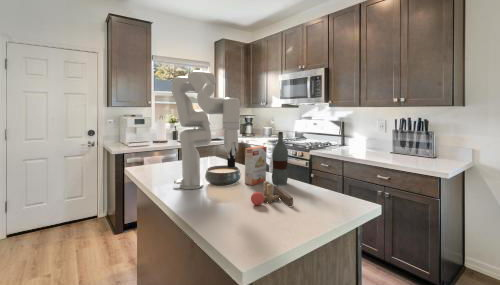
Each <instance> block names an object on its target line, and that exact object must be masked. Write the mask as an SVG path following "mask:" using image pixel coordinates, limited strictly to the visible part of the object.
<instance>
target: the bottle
mask: <svg viewBox="0 0 500 285" xmlns="http://www.w3.org/2000/svg"><path fill="white" fill-rule="evenodd" d="M277 133H278V134H277V136H278V137H277V142H276V144H275V145H274V147H273V149H272V152H271V153H272V154H271V157H272V158H271V159H272V160H271V161H272V171H271V182H272V185H274V186H285V185H287V183H288V178H289V177H288V176H289V175H288V160H289V149H288V148H287V146H286V144H285V143H284V132H283V131H278V132H277Z"/></svg>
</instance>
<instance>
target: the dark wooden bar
mask: <svg viewBox="0 0 500 285" xmlns="http://www.w3.org/2000/svg"><path fill="white" fill-rule="evenodd" d="M273 194H274V196H275V195H279V198H280V199H281V200H282V202H283V201H284V202H285V203H286V204H287V205H288V206H292V205H293V206H294V197H293V196H292V195H290V194H289V193H288V192H286V191H285V190H284V189H282V187H279V185H273ZM280 199H279V200H280ZM281 200H280V201H281ZM284 202H283V203H284ZM285 203H284V204H285ZM286 204H285V205H286ZM287 205H286V206H287ZM288 206H287V207H288Z"/></svg>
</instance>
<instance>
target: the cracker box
mask: <svg viewBox="0 0 500 285" xmlns="http://www.w3.org/2000/svg"><path fill="white" fill-rule="evenodd" d="M267 151H268V148H267V146H263V145H258V146H257V145H256V146H251V147H247V148H246V147H245V150H244V156H245V157H244V184H245V185H249V186H254V185H258V184H260V183H262V182H263V183H264V181H266V180H267V179H266V178H267V153H268V152H267Z"/></svg>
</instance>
